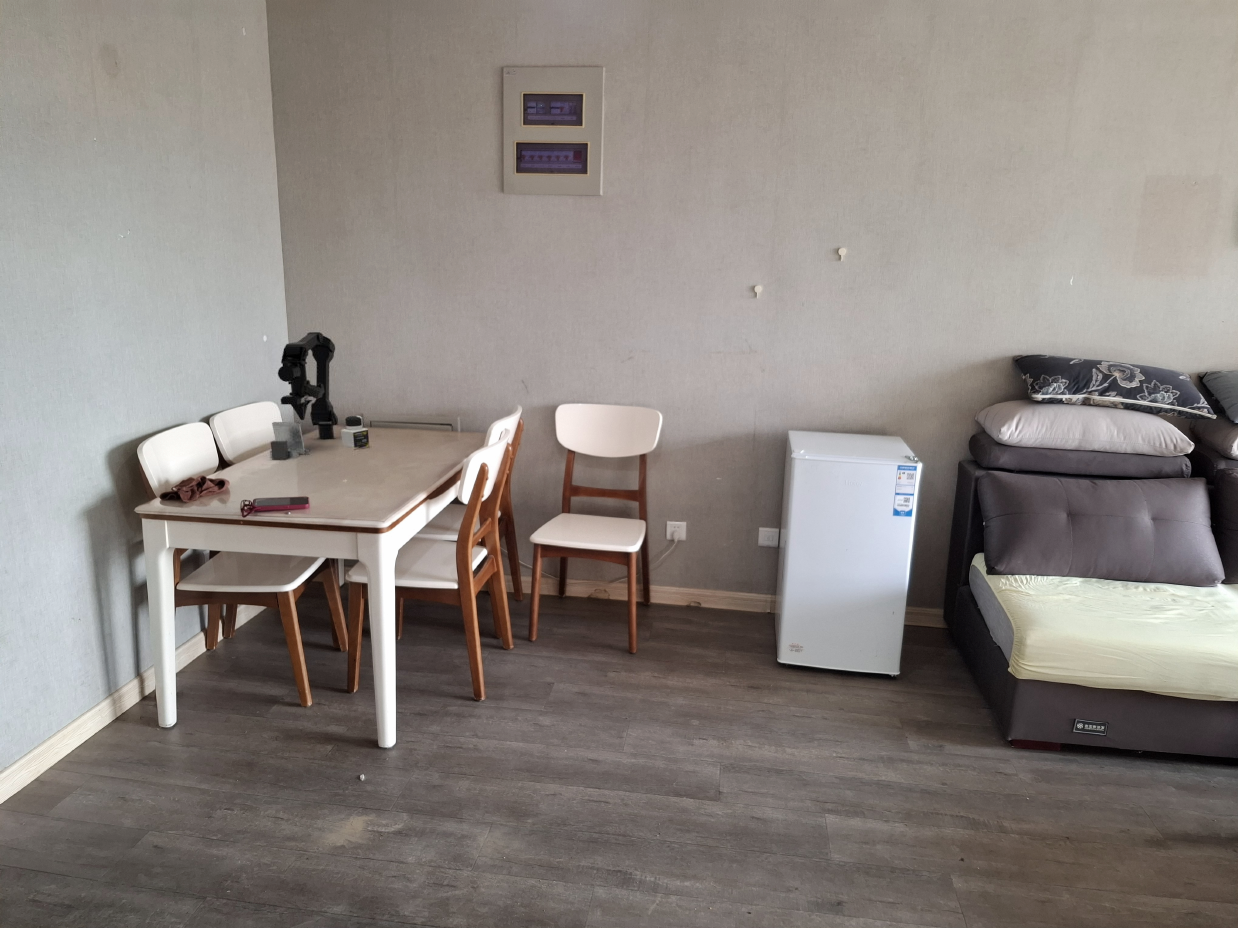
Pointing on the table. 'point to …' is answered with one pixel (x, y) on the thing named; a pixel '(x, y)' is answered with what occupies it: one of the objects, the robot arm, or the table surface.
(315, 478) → the table surface
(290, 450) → the heat sink
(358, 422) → the medicine bottle
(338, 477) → the table surface
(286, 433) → the gray rectangular panel
